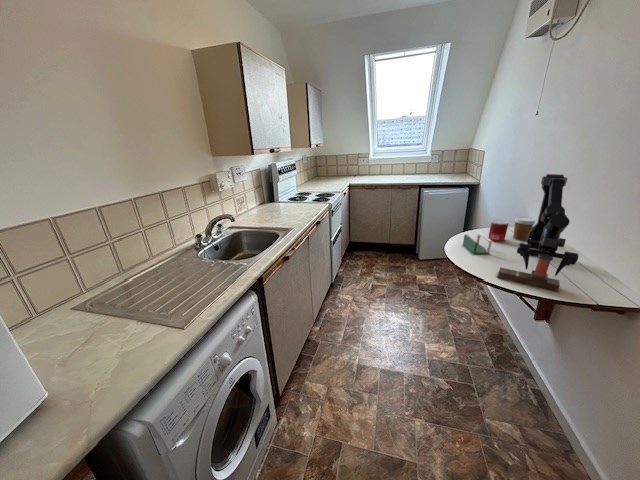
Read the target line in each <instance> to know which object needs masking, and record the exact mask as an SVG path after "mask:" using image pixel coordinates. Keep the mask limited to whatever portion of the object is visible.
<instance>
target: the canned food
mask: <svg viewBox="0 0 640 480" xmlns="http://www.w3.org/2000/svg"><path fill="white" fill-rule="evenodd" d="M508 227H509V221H507V220H504V219H492V220H491V223H490V227H489V232H488V236H487V238H489V239H490V240H492V242H495V243H502V242H504V241H505V239H506V235H507V231H508Z"/></svg>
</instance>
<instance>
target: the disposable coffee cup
mask: <svg viewBox="0 0 640 480" xmlns="http://www.w3.org/2000/svg"><path fill="white" fill-rule="evenodd" d="M535 224H536V220H535V218H533V217H529V216H516V217H515V218H514V229H513V239H514V240H516V241H527V240H526V238H527V235H528V233H529V231H531V229H532V227H533V226H534V225H535Z"/></svg>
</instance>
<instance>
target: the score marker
mask: <svg viewBox="0 0 640 480" xmlns="http://www.w3.org/2000/svg"><path fill="white" fill-rule="evenodd" d="M537 258H538V260H537V262H536V266H535V269H534V270H531V273H530V274H531V279H532V280H536V281H541V282H545V283H547V281H548V278H549V276H548V275H549V274H548V270H549V267H550V264H551V261H553V260H554V257H552V256H551V255H548V254H538V256H537Z"/></svg>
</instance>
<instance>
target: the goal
mask: <svg viewBox="0 0 640 480" xmlns="http://www.w3.org/2000/svg"><path fill="white" fill-rule="evenodd" d="M481 238H482V239H484V240H485V241H486V242H487V246H486V248H484V246H482V245H481V244H480V240H481ZM492 243H493V241H492V240H490V239H489V238H488V236H486V235H485V234H483V233H482V232H480V231H479V232H477V235H476V239H473V238H472V237H471V236H469V235H468V234H465V233H464V236H463V242H462V246H463V247H464V248H465V249H466V250H468V251H469V252H470V253H471V254H472V255H490V253H491V247H492Z"/></svg>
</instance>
